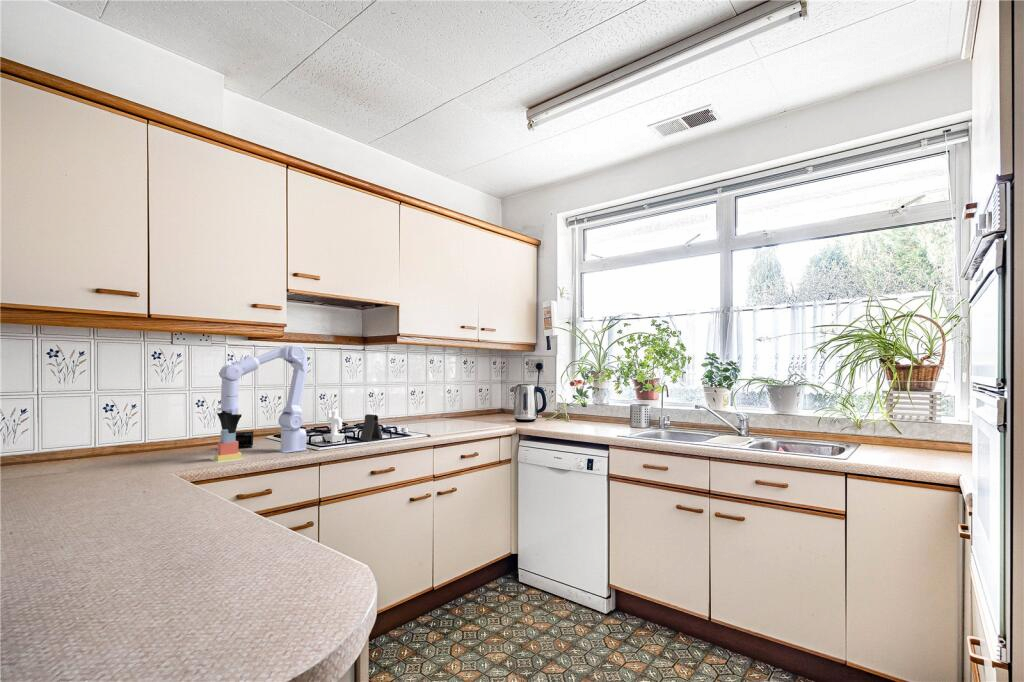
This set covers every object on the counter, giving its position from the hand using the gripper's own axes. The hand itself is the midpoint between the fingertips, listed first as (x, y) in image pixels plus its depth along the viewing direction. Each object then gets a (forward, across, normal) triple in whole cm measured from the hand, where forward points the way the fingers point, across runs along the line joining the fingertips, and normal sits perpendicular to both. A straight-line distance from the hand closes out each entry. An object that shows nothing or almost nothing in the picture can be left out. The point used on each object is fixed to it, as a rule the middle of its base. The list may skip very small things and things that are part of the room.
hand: (228, 432), depth 193 cm
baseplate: (+10, 0, 0) cm, 10 cm away
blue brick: (+4, 0, 0) cm, 4 cm away
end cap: (+11, -23, +11) cm, 28 cm away
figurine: (+11, -10, +47) cm, 49 cm away
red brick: (+8, 0, 0) cm, 8 cm away
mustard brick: (+10, 0, 0) cm, 10 cm away
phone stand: (+11, -5, +63) cm, 64 cm away
